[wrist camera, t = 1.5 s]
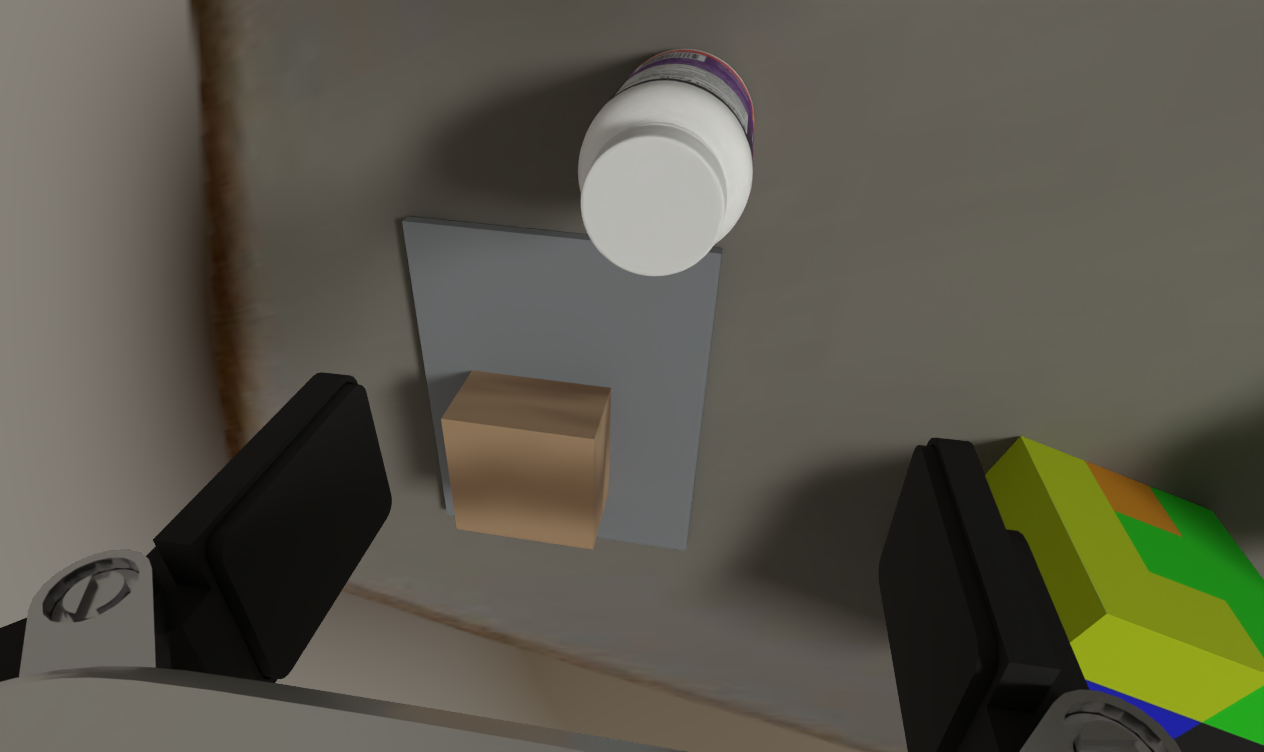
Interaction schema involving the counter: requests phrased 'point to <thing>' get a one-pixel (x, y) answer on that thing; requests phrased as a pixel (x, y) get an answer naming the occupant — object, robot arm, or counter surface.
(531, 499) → the base block
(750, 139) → the pill bottle
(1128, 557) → the puzzle toy
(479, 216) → the counter surface
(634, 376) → the build mat
